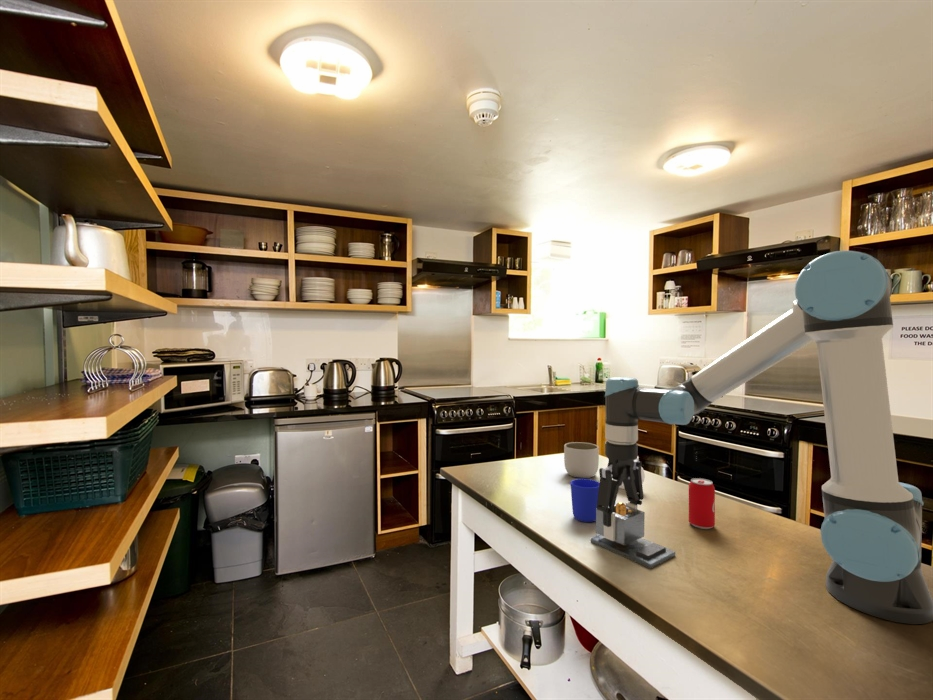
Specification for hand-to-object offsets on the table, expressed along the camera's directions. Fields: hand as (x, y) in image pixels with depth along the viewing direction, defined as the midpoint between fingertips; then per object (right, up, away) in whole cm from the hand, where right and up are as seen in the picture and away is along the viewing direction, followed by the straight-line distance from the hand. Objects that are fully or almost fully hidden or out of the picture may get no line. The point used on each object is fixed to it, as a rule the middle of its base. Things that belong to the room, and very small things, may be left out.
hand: (620, 534), depth 109 cm
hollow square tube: (0, 0, 0) cm, 0 cm away
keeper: (+2, -3, -2) cm, 4 cm away
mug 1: (-2, -2, +15) cm, 16 cm away
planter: (+5, -2, +57) cm, 57 cm away
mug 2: (+18, -2, +42) cm, 46 cm away
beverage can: (+25, -2, +11) cm, 28 cm away
